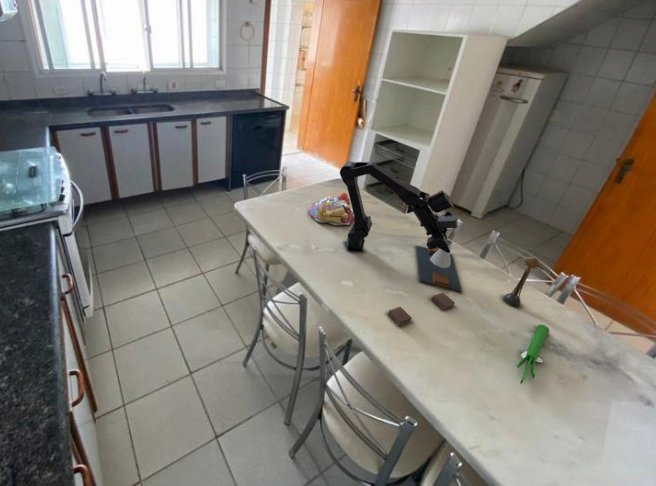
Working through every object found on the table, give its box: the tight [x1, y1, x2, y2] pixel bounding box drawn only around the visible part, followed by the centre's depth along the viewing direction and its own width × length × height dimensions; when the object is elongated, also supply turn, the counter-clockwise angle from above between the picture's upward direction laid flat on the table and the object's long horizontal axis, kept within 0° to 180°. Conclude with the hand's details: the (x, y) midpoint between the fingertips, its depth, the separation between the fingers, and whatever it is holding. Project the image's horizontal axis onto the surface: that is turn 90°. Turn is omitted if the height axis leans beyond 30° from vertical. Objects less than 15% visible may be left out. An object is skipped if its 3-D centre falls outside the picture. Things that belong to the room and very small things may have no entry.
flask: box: [430, 238, 454, 268], centre depth 126 cm, size 7×7×10 cm
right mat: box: [416, 245, 462, 293], centre depth 133 cm, size 14×25×3 cm, turn 159°
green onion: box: [516, 323, 550, 385], centre depth 98 cm, size 5×3×30 cm
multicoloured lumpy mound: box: [308, 191, 354, 226], centre depth 167 cm, size 25×24×9 cm
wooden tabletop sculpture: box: [503, 256, 546, 308], centre depth 114 cm, size 6×5×20 cm
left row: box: [387, 292, 455, 327], centre depth 113 cm, size 5×25×2 cm, turn 112°
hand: (449, 250), depth 125 cm, fingers closed on flask, 3 cm apart
